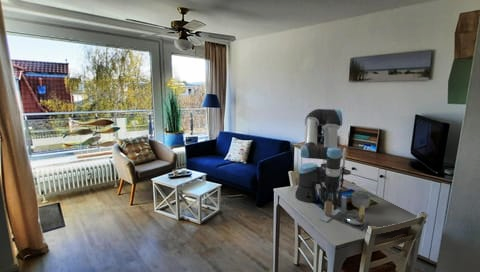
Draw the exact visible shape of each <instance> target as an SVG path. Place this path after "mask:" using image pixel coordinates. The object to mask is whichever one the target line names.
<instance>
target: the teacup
mask: <svg viewBox="0 0 480 272" xmlns="http://www.w3.org/2000/svg"><path fill="white" fill-rule="evenodd" d="M350 198H351V204H352V206H353V207H354V208H356V209H358V210H359V205H364V206H365V209H367V208H369V207H370V203H371V195H370V194H368V193H367V192H363V191H358V190H354V191H353V192H352V193H351V197H350Z"/></svg>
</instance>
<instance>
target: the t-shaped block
mask: <svg viewBox="0 0 480 272" xmlns="http://www.w3.org/2000/svg"><path fill="white" fill-rule="evenodd" d="M337 199H338V194H337ZM332 200H333V194H332ZM341 200H342V203H341V204H340V206H341V207H340V206H339V205H338V206H337V209H336V210H335V214H334V215H333V216H332V217H329V216H327V215H325V214H324V215H323V216H321V217H320V218H319V220H320V221H321V222H325V223H328V222H329V221H331V220H332V219H333V218H334V217H336V216H337V215H339V214H340V213H342V214H345V213H346V212H348V209H347V202H348V196H344V195H342V198H341Z"/></svg>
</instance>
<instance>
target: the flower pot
mask: <svg viewBox="0 0 480 272" xmlns="http://www.w3.org/2000/svg"><path fill="white" fill-rule="evenodd" d="M325 192H326V186H325ZM338 192H339V191H337V192H336V193H337V194H338ZM324 196H325V195H324ZM318 198H319V200H320V201H321V203H322V204H323V203H324V201H323V200H321V187H320V188H318ZM328 199H332V191H331V190H330V192H329V195H328Z"/></svg>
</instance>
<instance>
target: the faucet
mask: <svg viewBox="0 0 480 272" xmlns="http://www.w3.org/2000/svg"><path fill="white" fill-rule="evenodd" d="M365 211H366V208H365V206H364V205H359V209H358V214H356V213H346V214H345V215H344V218H345V220H346V221H347V222H348V223H350V224H353V225H363V224H364V223H365V220H366V219H365Z"/></svg>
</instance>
